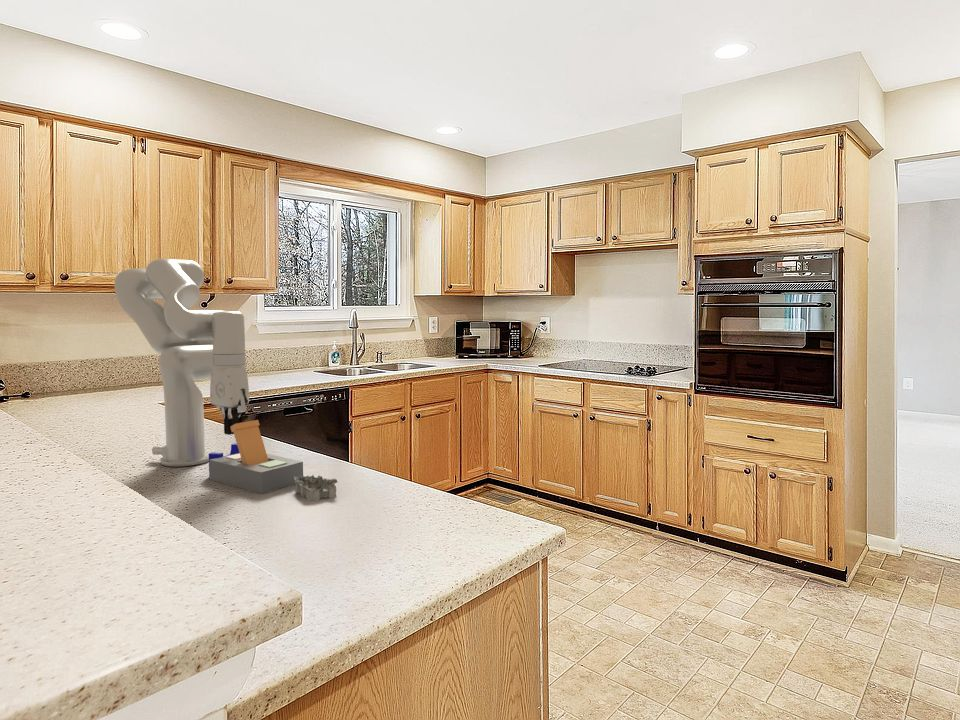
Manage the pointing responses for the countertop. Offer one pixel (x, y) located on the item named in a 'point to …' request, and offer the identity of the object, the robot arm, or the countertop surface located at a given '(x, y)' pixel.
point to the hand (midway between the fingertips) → (231, 433)
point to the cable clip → (216, 455)
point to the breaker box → (256, 473)
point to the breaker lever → (250, 442)
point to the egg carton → (315, 487)
